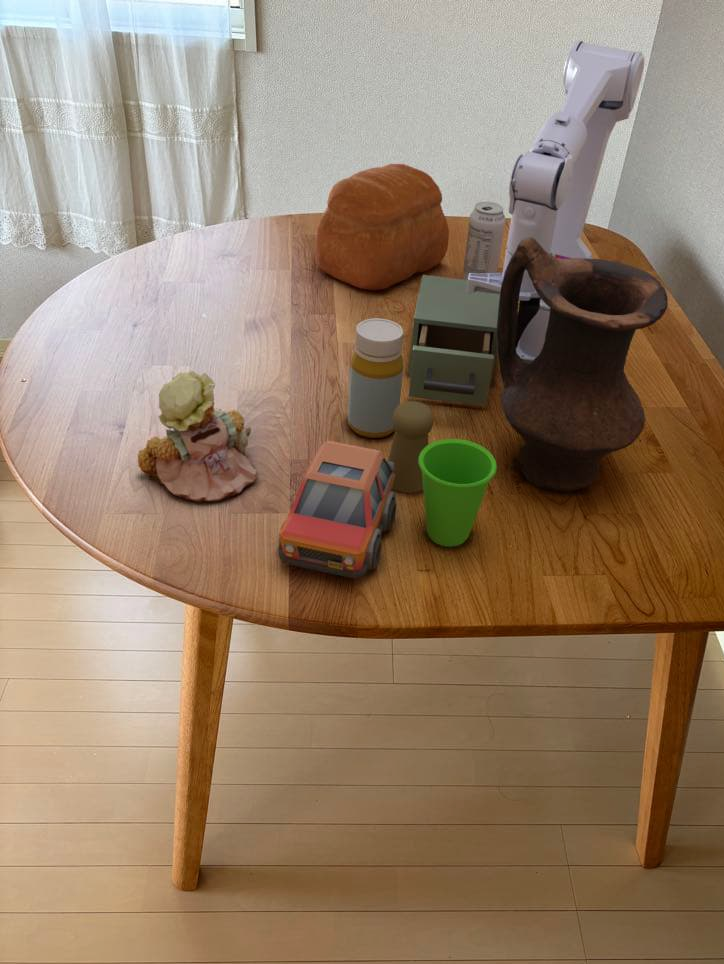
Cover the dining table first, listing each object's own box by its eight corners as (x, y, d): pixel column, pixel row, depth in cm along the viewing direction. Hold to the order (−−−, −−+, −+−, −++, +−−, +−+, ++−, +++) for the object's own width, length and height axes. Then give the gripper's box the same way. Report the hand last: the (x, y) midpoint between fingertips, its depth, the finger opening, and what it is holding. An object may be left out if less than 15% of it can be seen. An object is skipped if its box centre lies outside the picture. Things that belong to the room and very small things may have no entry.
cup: (407, 509, 114) (415, 437, 107) (478, 510, 115) (490, 438, 108) (414, 558, 107) (422, 485, 100) (489, 558, 109) (503, 485, 101)
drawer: (485, 424, 128) (492, 376, 123) (405, 414, 129) (409, 366, 124) (489, 359, 142) (496, 313, 137) (416, 350, 142) (421, 305, 137)
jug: (641, 452, 128) (703, 247, 108) (608, 527, 114) (672, 310, 95) (500, 410, 133) (534, 207, 113) (453, 477, 120) (483, 261, 100)
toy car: (269, 572, 104) (267, 504, 97) (313, 486, 116) (314, 420, 110) (367, 593, 102) (371, 526, 96) (401, 503, 115) (407, 438, 108)
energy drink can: (501, 293, 162) (514, 210, 152) (477, 301, 158) (488, 217, 149) (478, 280, 165) (489, 197, 155) (454, 288, 162) (463, 204, 152)
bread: (454, 266, 168) (465, 174, 157) (377, 302, 156) (383, 204, 144) (384, 236, 176) (389, 146, 165) (305, 267, 163) (305, 172, 152)
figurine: (233, 429, 124) (229, 334, 114) (280, 487, 117) (280, 391, 106) (127, 461, 117) (112, 363, 107) (169, 525, 110) (158, 426, 99)
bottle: (404, 420, 129) (414, 325, 119) (385, 445, 124) (394, 348, 114) (360, 406, 131) (366, 311, 121) (339, 431, 126) (343, 334, 116)
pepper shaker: (425, 496, 116) (433, 425, 109) (379, 488, 117) (384, 416, 110) (433, 469, 121) (442, 399, 114) (389, 461, 122) (395, 390, 114)
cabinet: (491, 385, 138) (500, 328, 132) (408, 375, 138) (414, 318, 132) (493, 338, 149) (502, 283, 143) (417, 329, 149) (422, 274, 143)
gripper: (471, 257, 115) (459, 351, 124) (585, 270, 115) (564, 364, 124) (473, 234, 120) (461, 327, 129) (582, 247, 120) (563, 339, 129)
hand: (512, 343), depth 127 cm, fingers closed
